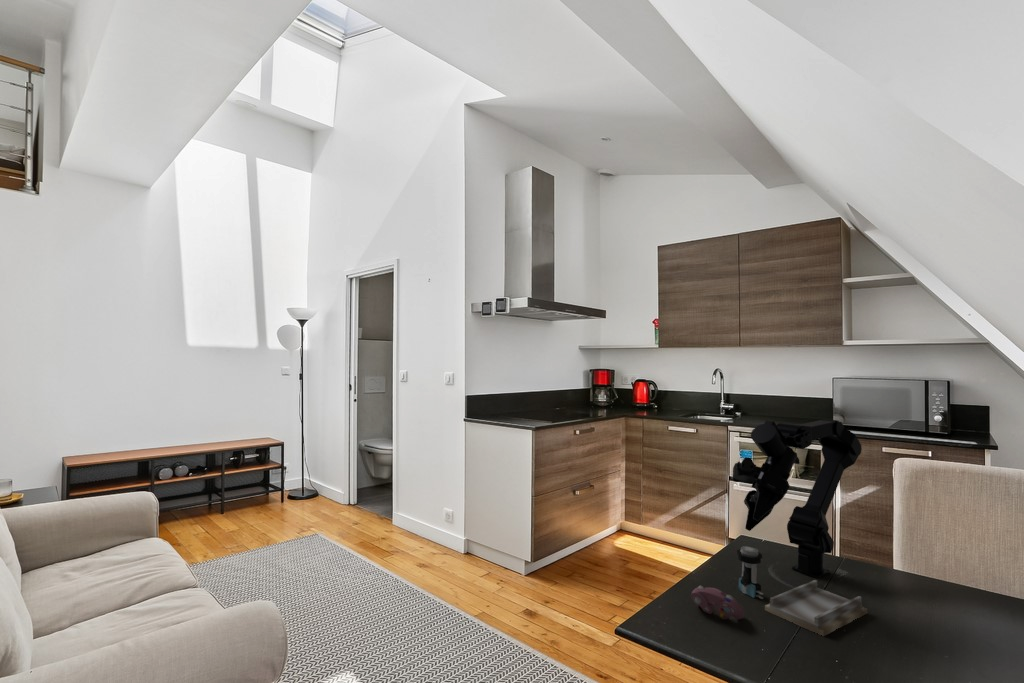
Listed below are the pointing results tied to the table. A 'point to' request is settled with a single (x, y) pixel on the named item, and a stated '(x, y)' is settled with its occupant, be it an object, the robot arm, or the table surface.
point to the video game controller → (717, 602)
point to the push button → (749, 571)
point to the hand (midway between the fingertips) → (751, 524)
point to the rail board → (816, 608)
